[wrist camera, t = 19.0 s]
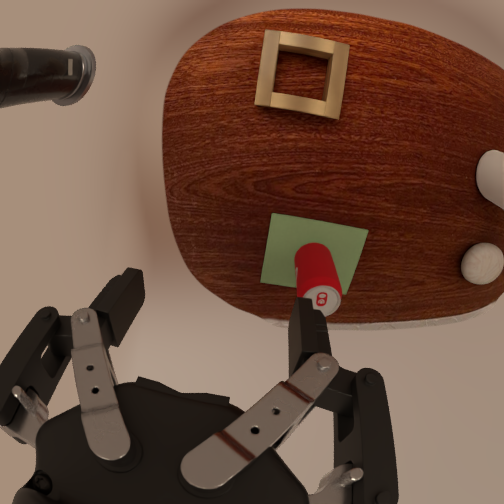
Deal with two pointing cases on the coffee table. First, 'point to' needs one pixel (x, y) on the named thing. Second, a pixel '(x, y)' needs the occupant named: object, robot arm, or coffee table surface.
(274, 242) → the pad
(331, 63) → the stand
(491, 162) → the wine bottle
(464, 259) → the decorative stone
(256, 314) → the coffee table surface
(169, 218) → the coffee table surface
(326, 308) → the beverage can
